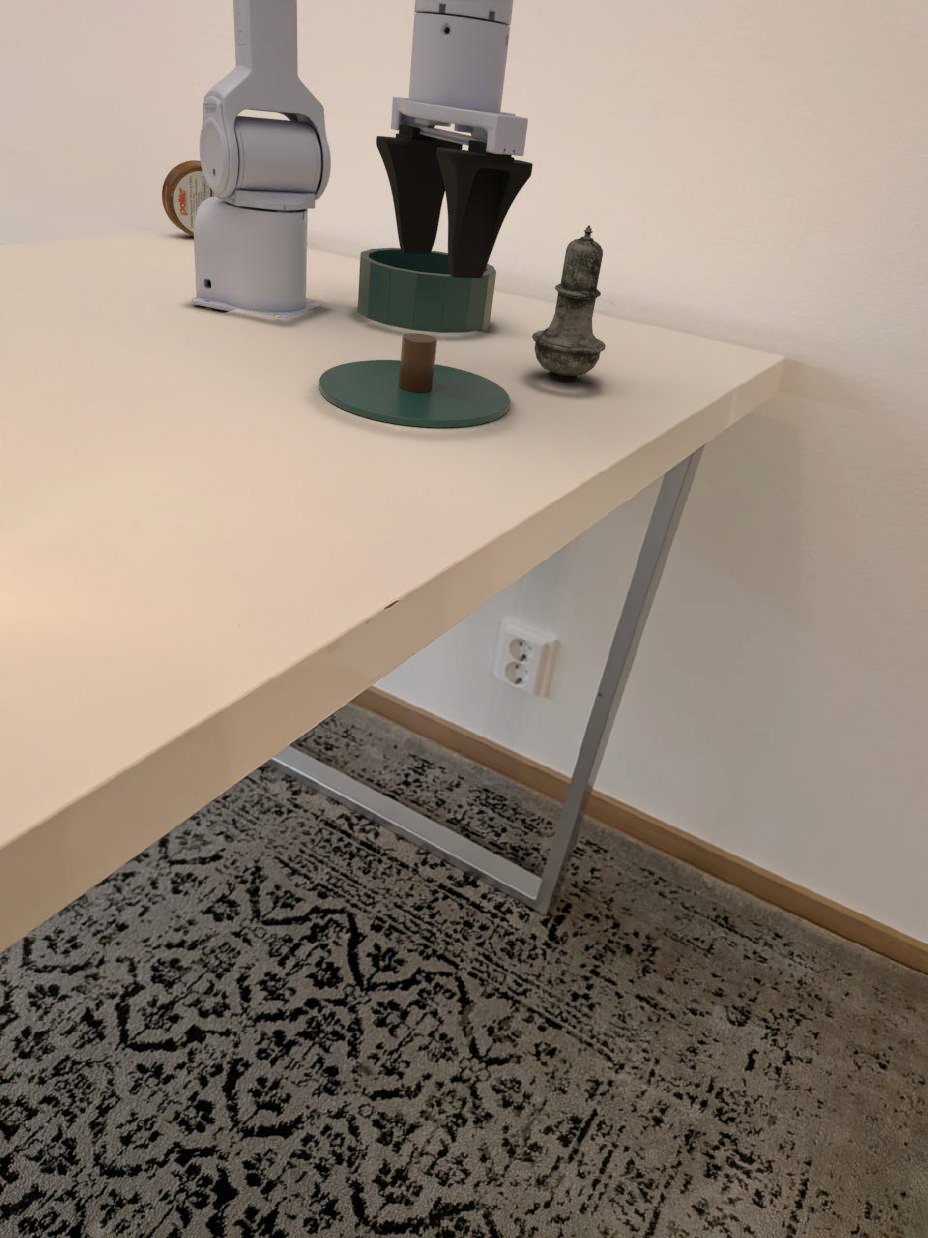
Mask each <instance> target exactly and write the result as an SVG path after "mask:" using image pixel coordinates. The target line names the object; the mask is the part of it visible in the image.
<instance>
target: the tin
mask: <svg viewBox="0 0 928 1238" xmlns="http://www.w3.org/2000/svg"><path fill="white" fill-rule="evenodd" d="M209 197H216V194H214V192H213V191H212V189H211V188H210V187H209V185H208V184H207V182H206V180H205V177H204V174H203V171H202V166H201V160H195V159H194V160H186V161H183V162H180V163H178V164H177V165H176V166H174V167H173V168H171V170H170V171H169V172H168V173H167V175H166V177H165V178H164V181H163V184H162V189H161V200H162V206H163V209H164V213H165V214H166V216H167V218H169V220H170V221H171V223H172V224H173V225H174V226H176V228H178V229H179V230H181V231H182V232H183V233H185V234H187V235H189V236H191V237H194V224H195V218H196V214H197V211H198V208H199V206H200V205H201V203H202V202H203V201H204V200H206V199H207V198H209Z"/></svg>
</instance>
